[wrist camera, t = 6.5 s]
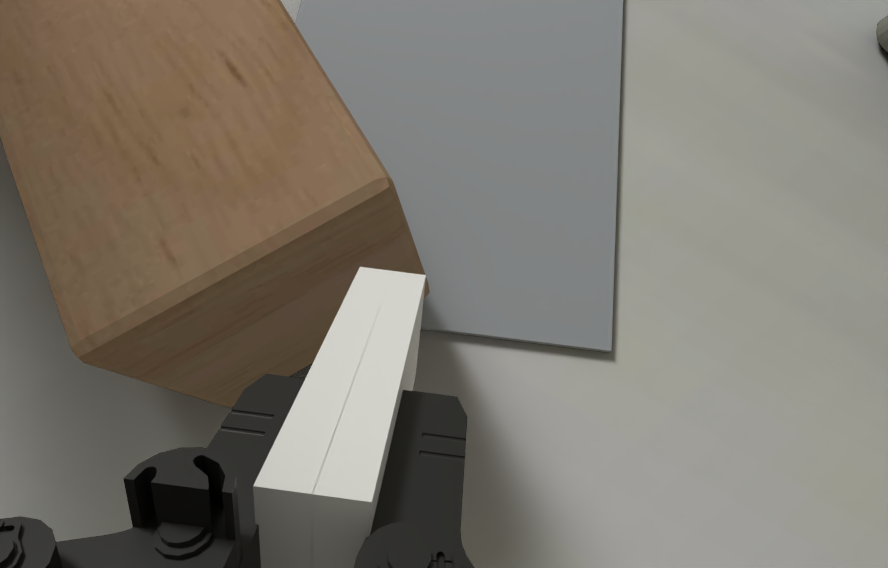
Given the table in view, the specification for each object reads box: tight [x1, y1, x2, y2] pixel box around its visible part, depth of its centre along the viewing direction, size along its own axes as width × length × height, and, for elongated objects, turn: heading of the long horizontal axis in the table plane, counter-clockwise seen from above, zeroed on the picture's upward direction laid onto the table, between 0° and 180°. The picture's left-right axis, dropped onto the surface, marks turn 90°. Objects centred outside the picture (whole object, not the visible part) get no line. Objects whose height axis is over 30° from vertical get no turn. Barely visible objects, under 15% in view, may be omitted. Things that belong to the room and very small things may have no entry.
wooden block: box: [0, 0, 430, 407], centre depth 24 cm, size 10×10×20 cm
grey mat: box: [295, 0, 623, 353], centre depth 31 cm, size 22×18×1 cm
